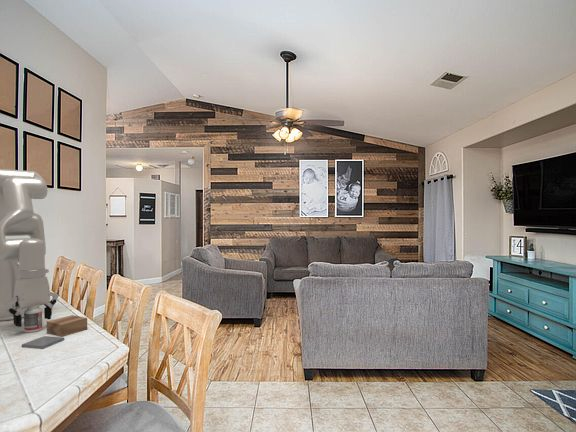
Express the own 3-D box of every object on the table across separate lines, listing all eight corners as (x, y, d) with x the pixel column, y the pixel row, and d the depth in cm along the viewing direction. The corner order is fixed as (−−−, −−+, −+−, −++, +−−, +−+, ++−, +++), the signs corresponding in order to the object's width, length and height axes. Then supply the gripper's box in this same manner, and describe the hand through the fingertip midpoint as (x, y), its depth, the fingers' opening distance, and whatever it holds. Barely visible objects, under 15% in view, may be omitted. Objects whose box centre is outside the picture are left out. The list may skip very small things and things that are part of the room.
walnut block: (46, 332, 128) (46, 321, 128) (72, 325, 136) (72, 315, 136) (61, 336, 124) (61, 324, 124) (87, 329, 132) (87, 317, 132)
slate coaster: (21, 346, 114) (21, 344, 114) (44, 338, 122) (44, 336, 122) (42, 348, 112) (42, 346, 112) (64, 340, 120) (64, 337, 120)
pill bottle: (42, 330, 130) (41, 303, 130) (23, 333, 128) (23, 305, 127) (42, 327, 135) (42, 300, 135) (24, 329, 132) (24, 302, 132)
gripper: (51, 270, 141) (52, 315, 141) (-2, 277, 125) (-1, 327, 126) (63, 271, 137) (64, 317, 137) (10, 279, 122) (11, 330, 122)
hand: (33, 322), depth 131 cm, fingers open, 9 cm apart
